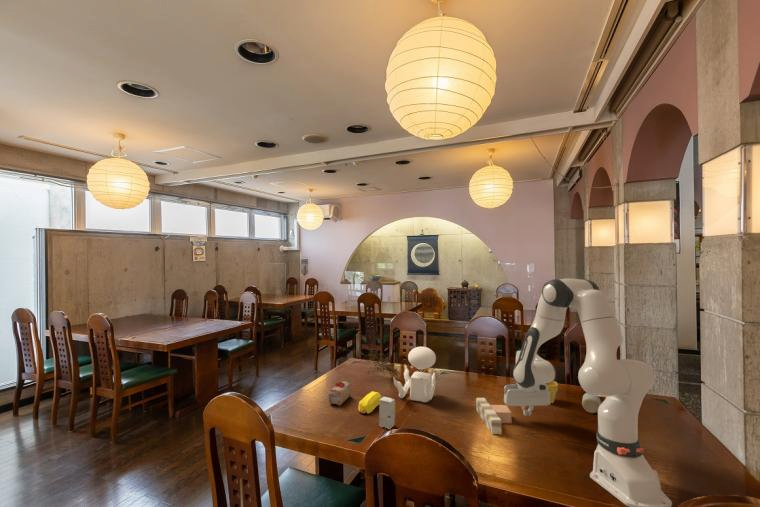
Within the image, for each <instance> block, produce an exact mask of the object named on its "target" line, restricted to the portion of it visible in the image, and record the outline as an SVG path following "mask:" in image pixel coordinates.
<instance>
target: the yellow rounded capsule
mask: <svg viewBox="0 0 760 507" xmlns="http://www.w3.org/2000/svg"><path fill="white" fill-rule="evenodd" d="M382 397H383V396H382V394H381V393H380V392H376V391H373V390H372V391H370V392H369V393H367V394H366V395H365V396H364V397H363V398H362V399H361V400H360V401H358V411H359V413H361V414H366V413H367V414H369V413H370V414H371V413H372V412H373V411H374V410H375V408H377V407H378V406H379V400H380V399H381V398H382Z"/></svg>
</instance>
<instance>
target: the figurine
mask: <svg viewBox="0 0 760 507" xmlns="http://www.w3.org/2000/svg"><path fill="white" fill-rule="evenodd" d="M407 358H408V359H407V360H408V362H409V363H410V365H411V366H413V367H414V368H417V369H420V370H422V369H423V370H425V369H429V368H432V366H434V364H436V360H437V357H436V353H435V352H434V351H433V350H432V349H431V348H429V347H427V346H416V347H413V348H412V349H411V350H410V351H409V352H408V355H407ZM403 378H404V381H405V383H404V385H403V384H402V382H401V381H398V380H397V379H396V378H395V376H394V375H393V386H394V387H395V388H396V389H397V392H398V398H400V399H404V397H406V395H407V393H408V391H409V400H411V401H416V402H420V403H426V402H427V403H429V402H430V401H431V400H432V399H433V396H434V395H435V389H436V381H437V380H436V372H435V371H434V372H433V373H429V372H422V371H414V372H413V373H412V375H411V376H410V370H409V368H408V367H407V365H406V364H404V371H403Z"/></svg>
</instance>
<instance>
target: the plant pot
mask: <svg viewBox="0 0 760 507" xmlns="http://www.w3.org/2000/svg"><path fill="white" fill-rule="evenodd" d="M545 384H546V385H547V386H548V391H549V393H550V400H551V403H552V404H554V403H555V399H556V394H557V392H558V389H559V384H558V382H557V381H556V380H555V381H554V380H553V381H552V382H550V383H545ZM551 403H550V404H549V405H552V404H551Z"/></svg>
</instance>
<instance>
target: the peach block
mask: <svg viewBox="0 0 760 507" xmlns="http://www.w3.org/2000/svg"><path fill="white" fill-rule="evenodd" d="M489 405H490V406H491V407H492V409H493V410H494V411H495V413H496V414H497V415H498V417H499V418H500V419H501V424H512V423H513V422H512V420H513V419H512V418H513V417H512V411H511V410H510V409H509V408H510V407H509V406H507V405H506V404H489Z"/></svg>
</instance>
